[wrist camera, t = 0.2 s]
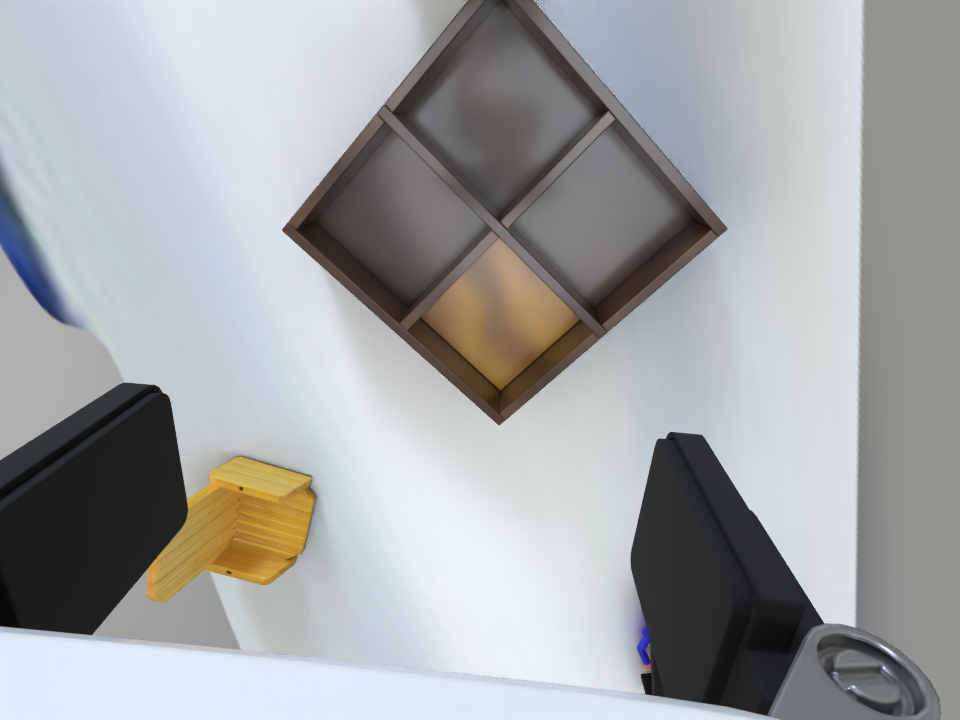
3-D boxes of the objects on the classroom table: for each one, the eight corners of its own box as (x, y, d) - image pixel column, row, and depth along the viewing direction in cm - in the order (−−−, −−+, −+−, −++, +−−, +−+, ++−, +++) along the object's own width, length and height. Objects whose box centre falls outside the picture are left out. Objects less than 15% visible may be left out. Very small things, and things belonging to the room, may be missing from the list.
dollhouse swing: (301, 565, 52) (259, 648, 44) (203, 537, 52) (142, 616, 43) (321, 477, 48) (279, 551, 40) (215, 447, 48) (150, 514, 39)
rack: (501, -17, 34) (499, -39, 29) (704, 218, 38) (728, 229, 34) (305, 220, 40) (281, 230, 36) (500, 398, 44) (499, 426, 40)
